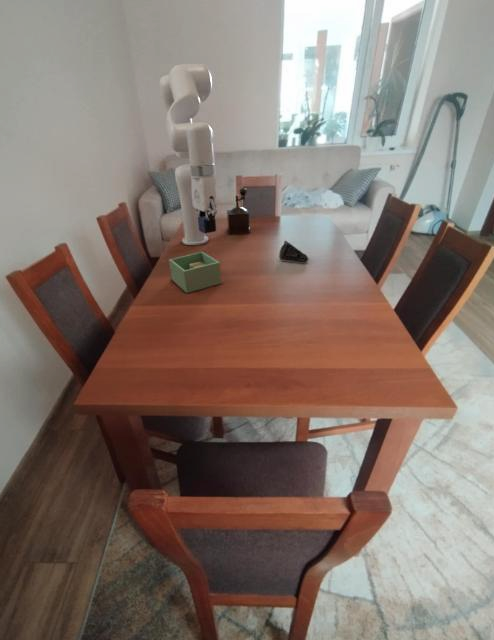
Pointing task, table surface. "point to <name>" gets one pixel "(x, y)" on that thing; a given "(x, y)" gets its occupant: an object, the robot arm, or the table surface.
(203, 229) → the navy block
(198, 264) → the birch block
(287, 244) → the chocolate cake
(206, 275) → the bin
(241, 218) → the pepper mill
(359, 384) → the table surface
